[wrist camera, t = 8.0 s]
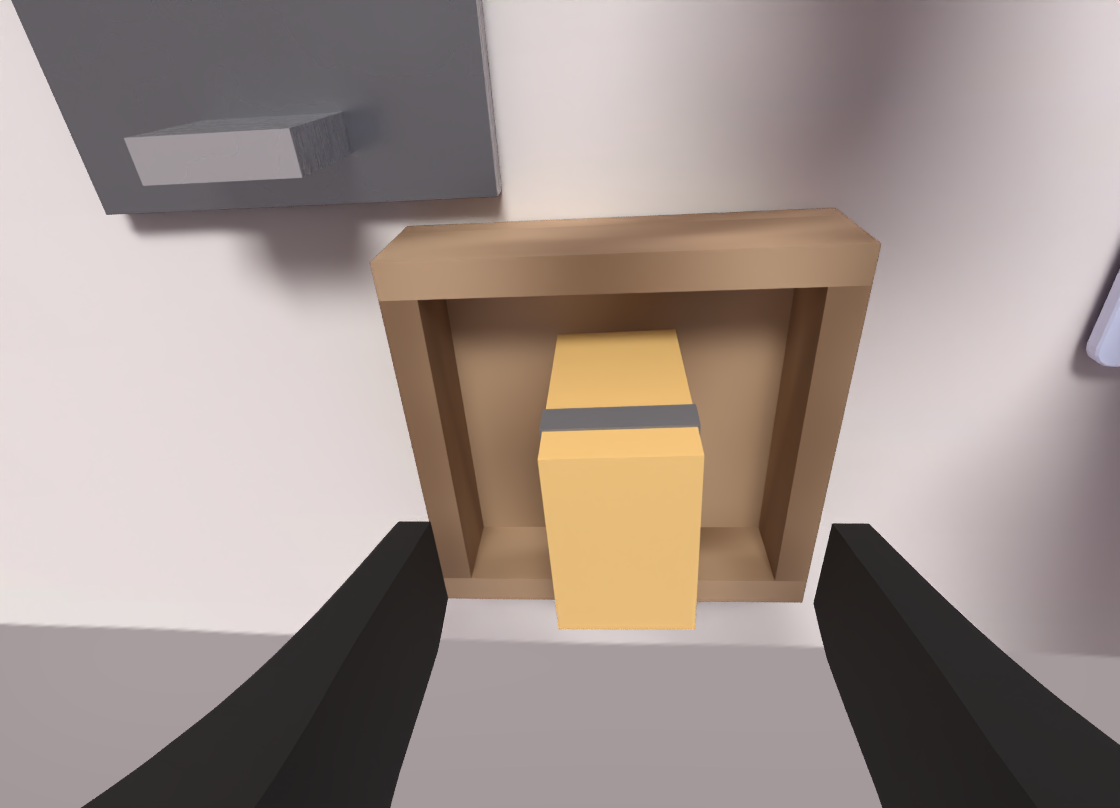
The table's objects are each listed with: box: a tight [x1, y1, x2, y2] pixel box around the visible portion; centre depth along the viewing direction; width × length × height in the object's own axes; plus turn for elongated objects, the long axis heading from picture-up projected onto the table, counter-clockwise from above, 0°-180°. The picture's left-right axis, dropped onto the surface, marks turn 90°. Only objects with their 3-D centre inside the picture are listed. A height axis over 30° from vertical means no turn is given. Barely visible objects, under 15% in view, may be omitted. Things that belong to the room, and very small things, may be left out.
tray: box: [370, 208, 881, 602], centre depth 15 cm, size 10×10×3 cm
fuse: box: [538, 329, 704, 629], centre depth 13 cm, size 3×4×5 cm, turn 5°
